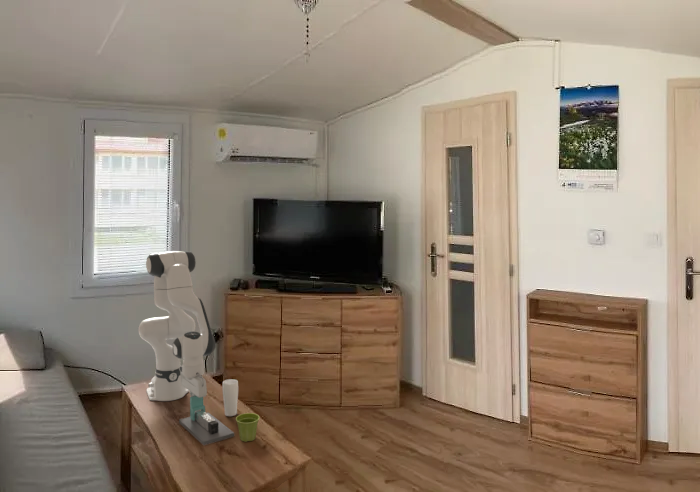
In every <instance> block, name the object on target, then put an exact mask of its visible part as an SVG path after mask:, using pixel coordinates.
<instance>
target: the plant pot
mask: <svg viewBox="0 0 700 492" xmlns="http://www.w3.org/2000/svg"><path fill="white" fill-rule="evenodd" d="M260 418H261V417H260V415H259V414H257V413H253V412H246V413H241V414H239V415H237V416H236V417H235V421H236V424H237V428H238V434H239V439H240V441H242V442H245V443H247V442H253V441H254V440H255V439H256V435H257V428H258V423H259V420H260Z"/></svg>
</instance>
